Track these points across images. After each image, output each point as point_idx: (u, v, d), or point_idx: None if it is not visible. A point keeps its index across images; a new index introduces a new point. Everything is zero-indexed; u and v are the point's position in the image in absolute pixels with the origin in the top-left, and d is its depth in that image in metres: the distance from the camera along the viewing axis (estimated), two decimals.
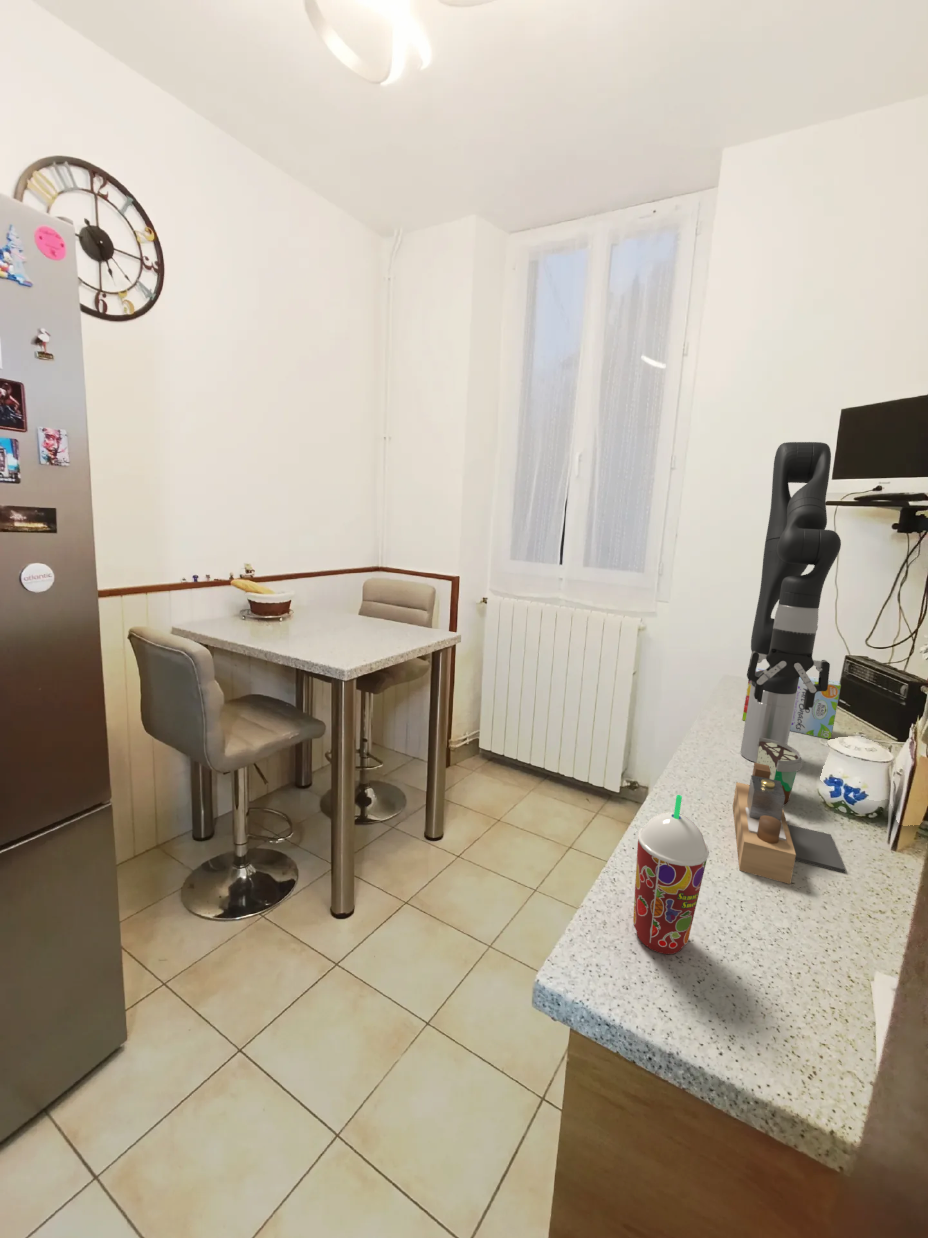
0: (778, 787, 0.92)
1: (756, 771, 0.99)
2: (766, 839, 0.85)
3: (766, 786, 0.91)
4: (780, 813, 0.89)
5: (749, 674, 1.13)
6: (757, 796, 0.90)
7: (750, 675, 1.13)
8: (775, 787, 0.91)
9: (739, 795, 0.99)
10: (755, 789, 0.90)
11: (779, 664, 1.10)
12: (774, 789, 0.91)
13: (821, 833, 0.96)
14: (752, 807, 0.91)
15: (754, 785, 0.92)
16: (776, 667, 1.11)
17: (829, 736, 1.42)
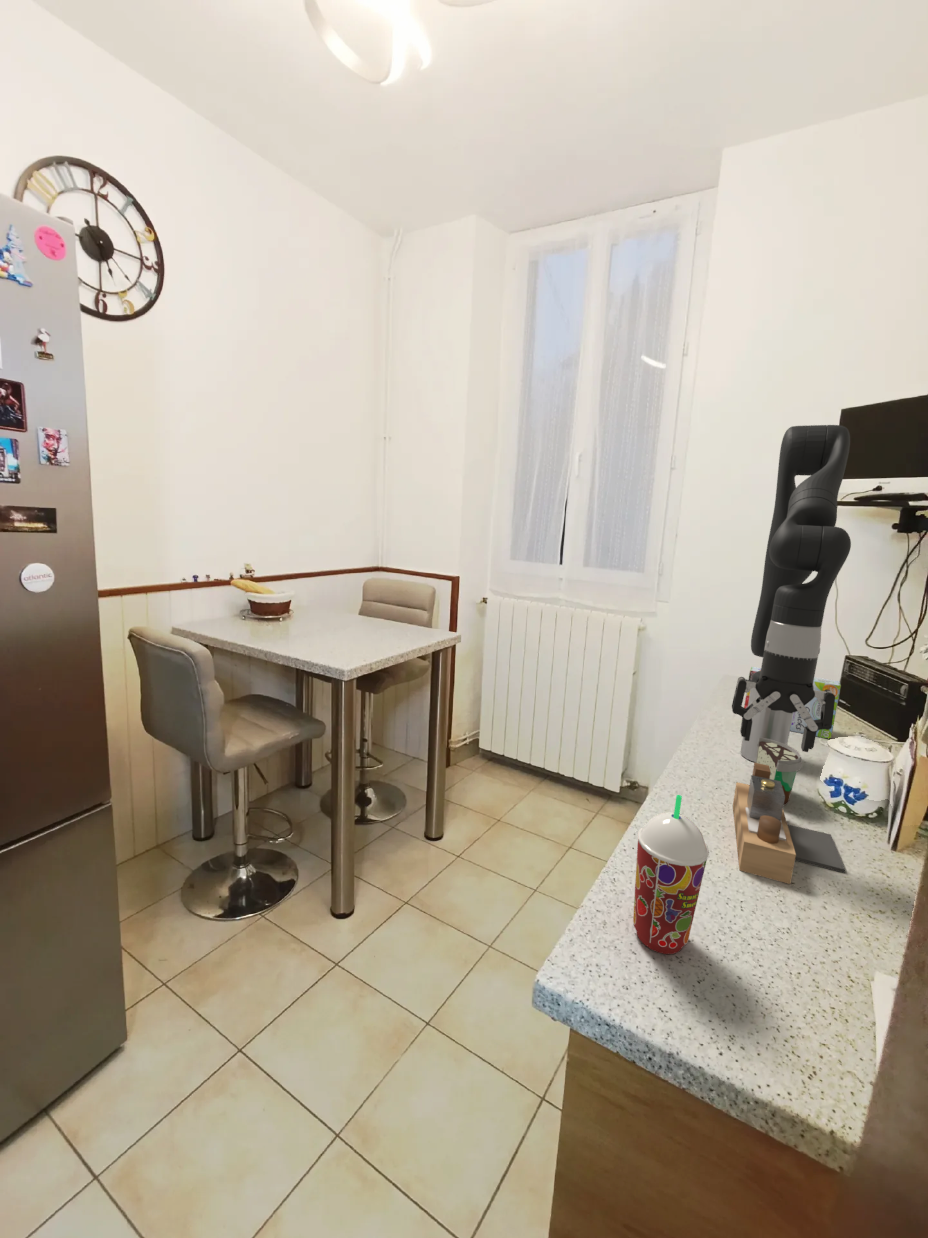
0: (778, 787, 0.92)
1: (756, 771, 0.99)
2: (766, 839, 0.85)
3: (766, 786, 0.91)
4: (780, 813, 0.89)
5: (734, 706, 0.91)
6: (757, 796, 0.90)
7: (735, 708, 0.91)
8: (775, 787, 0.91)
9: (739, 795, 0.99)
10: (755, 789, 0.90)
11: (771, 695, 0.88)
12: (774, 789, 0.91)
13: (821, 833, 0.96)
14: (752, 807, 0.91)
15: (754, 785, 0.92)
16: (768, 699, 0.89)
17: (829, 736, 1.42)
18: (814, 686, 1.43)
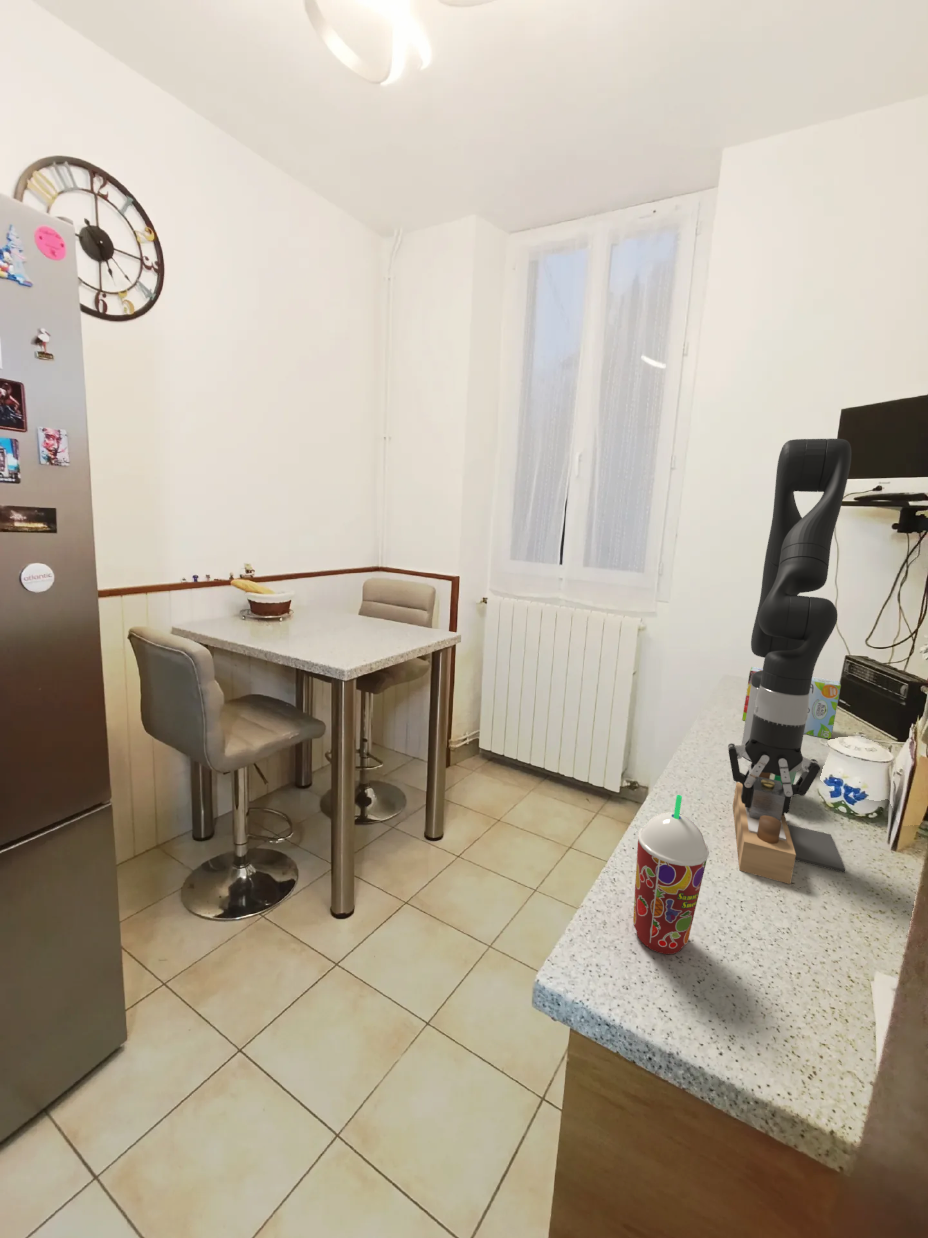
0: (778, 787, 0.92)
1: None
2: (766, 839, 0.85)
3: (766, 786, 0.91)
4: (780, 813, 0.89)
5: (734, 775, 0.93)
6: (757, 796, 0.90)
7: (736, 776, 0.93)
8: (775, 787, 0.91)
9: (739, 795, 0.99)
10: (755, 789, 0.90)
11: (761, 760, 0.90)
12: (774, 789, 0.91)
13: (821, 833, 0.96)
14: (752, 807, 0.91)
15: (754, 785, 0.92)
16: (759, 764, 0.90)
17: (829, 736, 1.42)
18: (814, 686, 1.43)
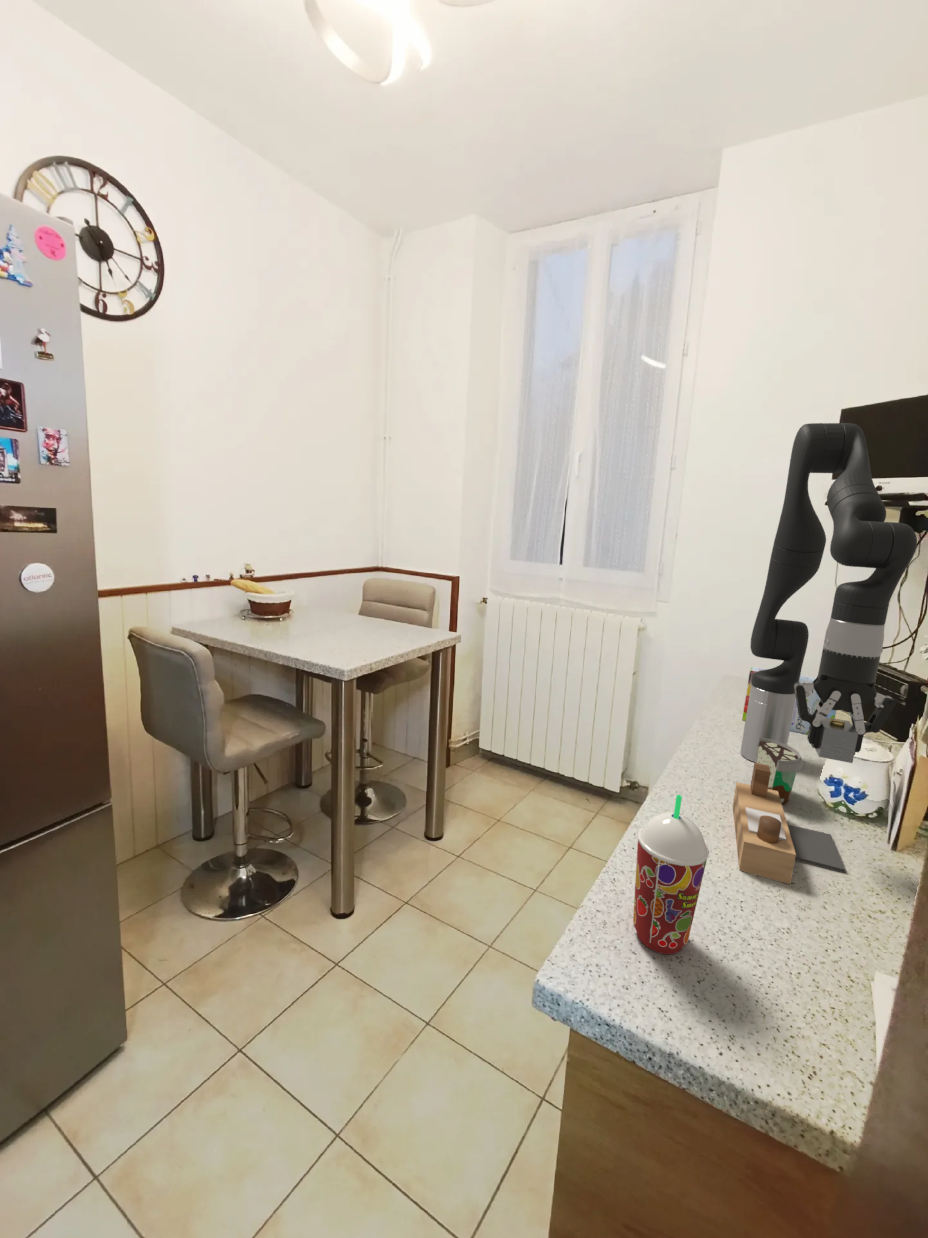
0: (849, 725, 0.88)
1: (756, 771, 0.99)
2: (766, 839, 0.85)
3: (836, 724, 0.88)
4: (853, 751, 0.85)
5: (801, 714, 0.89)
6: (827, 734, 0.86)
7: (804, 714, 0.89)
8: (845, 725, 0.88)
9: (739, 795, 0.99)
10: (825, 727, 0.87)
11: (832, 696, 0.86)
12: (845, 727, 0.87)
13: (821, 833, 0.96)
14: (822, 746, 0.87)
15: (823, 724, 0.88)
16: (830, 700, 0.87)
17: None
18: None
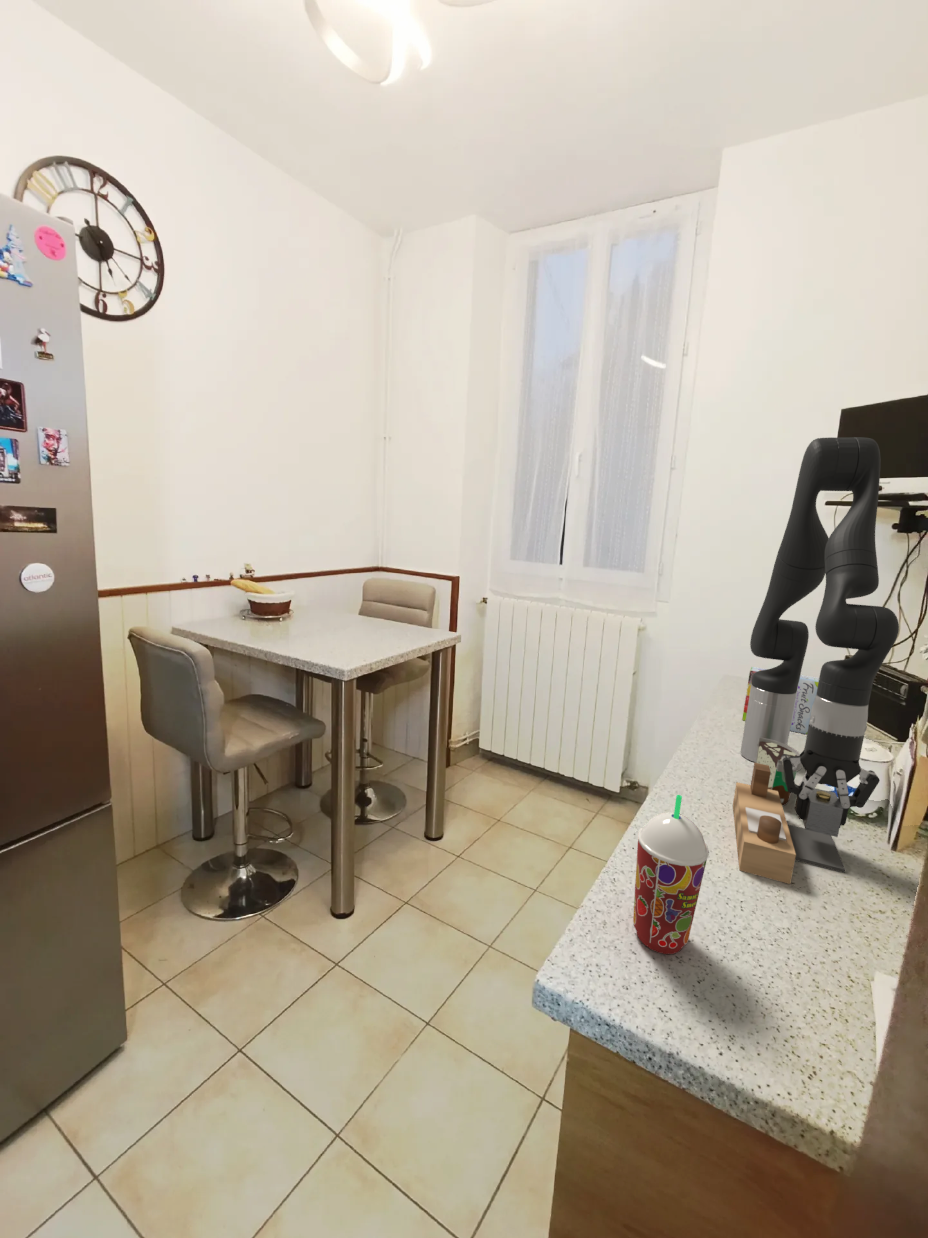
0: (834, 798, 0.90)
1: (756, 771, 0.99)
2: (766, 839, 0.85)
3: (822, 798, 0.90)
4: (838, 825, 0.88)
5: (788, 786, 0.91)
6: (813, 808, 0.89)
7: (791, 787, 0.91)
8: (831, 799, 0.90)
9: (739, 795, 0.99)
10: (811, 801, 0.89)
11: (818, 771, 0.89)
12: (831, 801, 0.89)
13: (821, 833, 0.96)
14: (808, 819, 0.89)
15: (810, 797, 0.90)
16: (815, 775, 0.89)
17: None
18: (814, 686, 1.43)
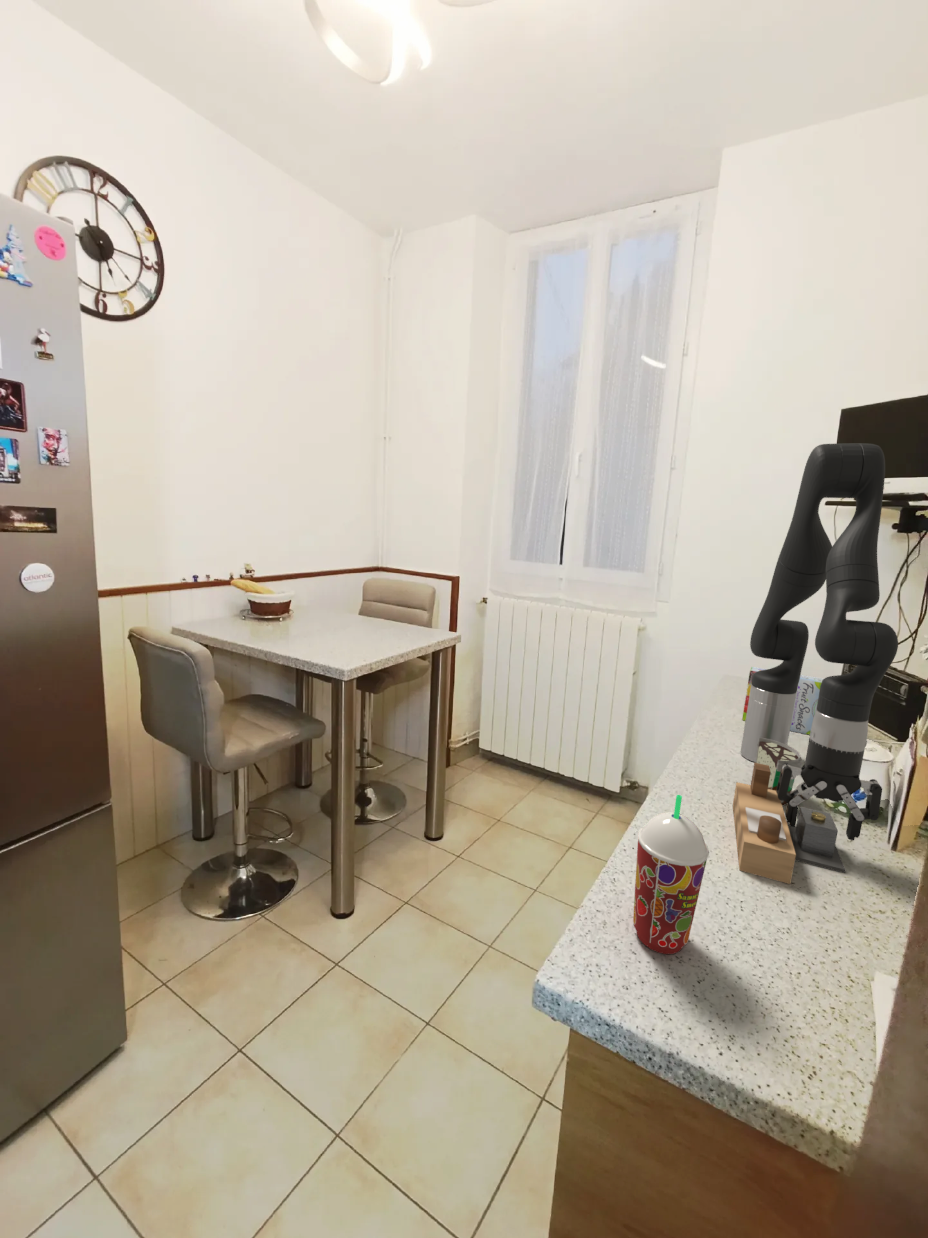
0: (829, 820, 0.91)
1: (756, 771, 0.99)
2: (766, 839, 0.85)
3: (817, 819, 0.91)
4: (832, 847, 0.89)
5: (780, 793, 0.92)
6: (808, 830, 0.90)
7: (781, 794, 0.92)
8: (826, 820, 0.91)
9: (739, 795, 0.99)
10: (807, 822, 0.90)
11: (818, 785, 0.89)
12: (825, 822, 0.90)
13: None
14: (803, 840, 0.90)
15: (805, 818, 0.91)
16: (814, 788, 0.90)
17: None
18: (814, 686, 1.43)
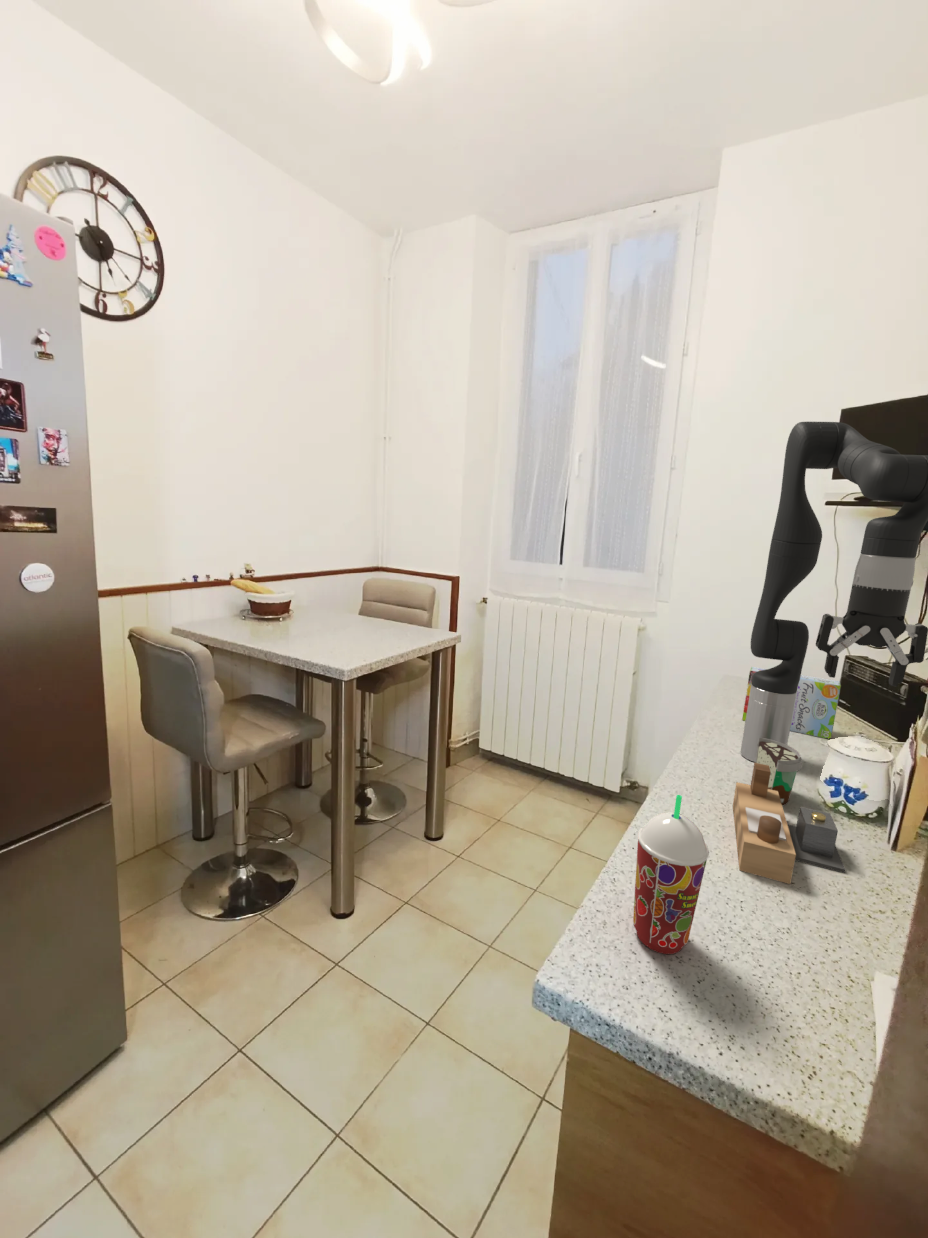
0: (829, 820, 0.91)
1: (756, 771, 0.99)
2: (766, 839, 0.85)
3: (817, 819, 0.91)
4: (832, 847, 0.89)
5: (820, 643, 0.91)
6: (808, 830, 0.90)
7: (821, 644, 0.91)
8: (826, 820, 0.91)
9: (739, 795, 0.99)
10: (807, 822, 0.90)
11: (860, 630, 0.88)
12: (825, 822, 0.90)
13: None
14: (803, 840, 0.90)
15: (805, 818, 0.91)
16: (856, 634, 0.88)
17: (829, 736, 1.42)
18: (814, 686, 1.43)
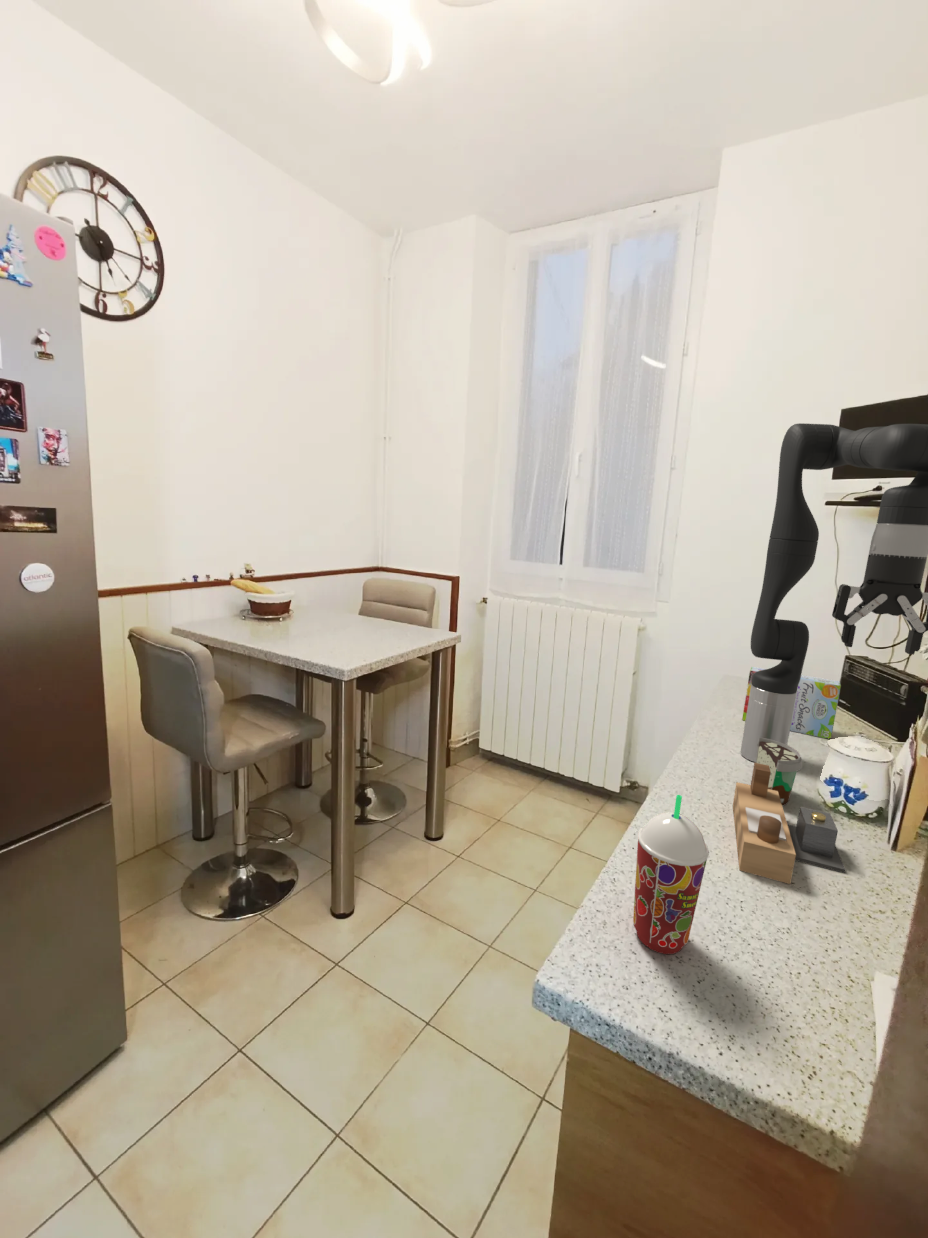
0: (829, 820, 0.91)
1: (756, 771, 0.99)
2: (766, 839, 0.85)
3: (817, 819, 0.91)
4: (832, 847, 0.89)
5: (837, 612, 0.92)
6: (808, 830, 0.90)
7: (838, 613, 0.92)
8: (826, 820, 0.91)
9: (739, 795, 0.99)
10: (807, 822, 0.90)
11: (878, 598, 0.89)
12: (825, 822, 0.90)
13: None
14: (803, 840, 0.90)
15: (805, 818, 0.91)
16: (873, 602, 0.89)
17: (829, 736, 1.42)
18: (814, 686, 1.43)
